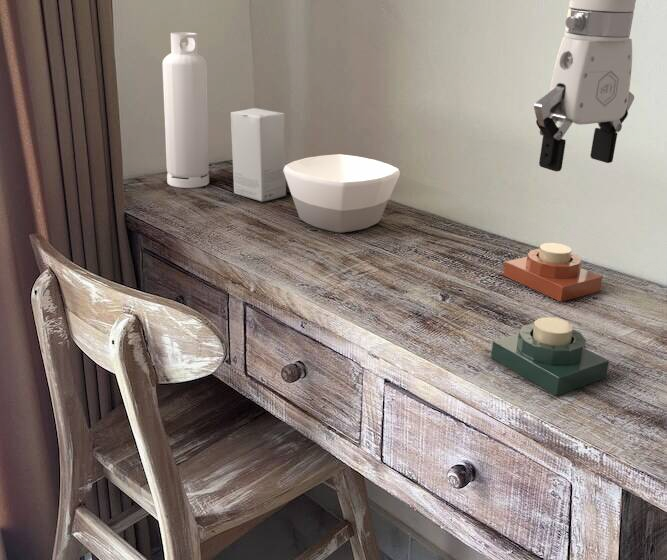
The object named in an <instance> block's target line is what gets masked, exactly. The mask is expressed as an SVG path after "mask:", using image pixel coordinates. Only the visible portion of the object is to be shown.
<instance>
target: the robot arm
mask: <svg viewBox="0 0 667 560" xmlns="http://www.w3.org/2000/svg"><path fill="white" fill-rule="evenodd" d="M636 3H637V0H569V5H568V10H567V17H566V20H565V31H564V36H563V37H562V39H561V43H560V46H559V47H558V48H559V49H558V52H557V56H556V60H555V63H554V68H553V72H552V77H551V80H550V81H551V82H550V87H549V91H548V92H547V93H545V94H544V95H543V96H542V97H541V98H539V99H538V100H537V101H535V103H534V105H533V109H534V114H535V119H536V122H535V123H536V126H537V127H538V129H539V135H540V136H542V141H541V149H540V153H539V154H540V155H539V161H538V164H539V165H538V166H539V167H541V168H544V169H547V170H549V171H553V172H555V173H556V172H561V170H562V169H563V162H564V156H565V148H566V141H567V140H566V139H563V137H564V136H565V134H566V133H567V132H568V130H569V128H570V127H571V126H572V125H573V124H575V125H590V124H597V125H598V127H595V128H594V131H593V136H592V144H591V150H590V158H591V159H592V160H596V161H599V162H603V163H606V164H611V163H612V162H613V160H614V155H615V150H616V144H617V139H618V133H620V132H621V130H622V128H623V123H624V121H625V120H626V119H627V117H628V116H629V110H630V108H631V106H632V104H633V102H634V100H635V95H634V93H632V92H631V91H630V87H631V80H632V79H631V78H632V70H633V69H632V68H633V39H632V38H630V37H631V32H632V26H633V21H634V20H633V19H634V14H635V13H634V11H635V8H636ZM558 122H559V124H558V126H557V123H558Z"/></svg>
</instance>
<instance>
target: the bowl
mask: <svg viewBox="0 0 667 560" xmlns="http://www.w3.org/2000/svg"><path fill="white" fill-rule="evenodd" d="M283 171H284V174H285V177H286V184H287V186H288V189H289V192H290V195H291V197H292V199H293V203H294V206H295V208H296V212H297V215H298V218H299V219H300V220H301V221H302V222H304V223H306V224H308V225H310V226H312V227H314V228H317V229H321V230H324V231H329V232H334V233H338V234H339V233H340V234H341V233H349V232H350V233H351V232H357V231H360V230H361V231H362V230H364V229H368V228H370V227H372V226H374V225H376V224H378V223H379V222H380V221H381V219H382V217H383V214H384V212H385V209H386V208H387V205H388V202H389V201H390V199H391V196H392V193H393V192H394V189H395V187H396V184H397V181H398V179H399V178H400V174H401V171H400V169H399V168H398V167H395V166H394V165H391V164H389V163H385V162H383V161H380V160H376V159H372V158H367V157H362V156H357V155H350V154H349V155H348V154H342V153H341V154H340V153H338V154H326V155H325V154H322V155H318V156H309V157H305V158H300V159H297V160H294V161H291V162H289V163H287V164H285V167H284V170H283Z"/></svg>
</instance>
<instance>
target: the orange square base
mask: <svg viewBox="0 0 667 560" xmlns="http://www.w3.org/2000/svg"><path fill="white" fill-rule="evenodd" d="M539 249H540V248H535V249H532V250H530V251H529V252H528V253H527V255H526V256H523V257H519V258H514V259H510V260H506V261H505V262H504V267H503V276H504V277H506V278H507V279H510V280H512V281H515V282H517V283H518V284H521V285H523V286H525V287H526V288H530V289H532V290H534V291H536V292H538V293H540V294H543V295H545V296H547V297H549V298H551V299H553V300H555V301H558V302H560V303H562V302H566V301H571V300H572V299H576V298H580V297H583V296H587V295H591V294H595V293H599V292H601V287H602V281H603V276H601V275H600V274H599V275H598V274H596V273H594V272H591V271H589V270H586V269H584V268H582V263H583V259H582V258H581V257H580V256H579V255H578V254H575V253H573V252H572V254H571V260H570V262H569V263H551V262H546V261H543V260H541V259H539V258H538V256H539Z"/></svg>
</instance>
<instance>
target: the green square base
mask: <svg viewBox="0 0 667 560" xmlns="http://www.w3.org/2000/svg"><path fill="white" fill-rule="evenodd" d="M534 323H535V322H533V323H529V324H526V325H523V326H522V327H521V329H520V330H519V331H518V333H515V334H512V335H509V336H505V337H502V338H499V339H495V340H493V341H492V347H491V355H490V356H491V357H490V358H491V360H494V361H495V362H498V363H499V364H501V365H502V366H504V367H506V368H507V369H509V370H511V371H513V372H515V373H517V374H518V375H520V376H521V377H523V378H525V379H527V380H528V381H530V382H532V383H533V384H535V385H537V386H538V387H540V388H542V389H544V390H546V391H547V392H549V393H551V394H553V395H554V396H559V395H562V394H566V393H567V392H570V391H574V390H575V389H579V388H582V387H585V386H587V385H590V384H593V383H595V382H599V381H601V380H604V379H606V378H607V376H608V375H607V374H608V369H609V364H610V360H609V359H607V358H605V357H603V356H601V355H599V354H597V353H595V352H593V351H591V350H589V349H588V348H586V344H587V339H586V337H584V335H583V334H582V333H581V332H579V331H577V330H576V329H574V328H573V334H572V340H571V344H568V345H565V346H552V345H548V344H544V343H540V342H538V341H536V340H535V339H533V330H534Z"/></svg>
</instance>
